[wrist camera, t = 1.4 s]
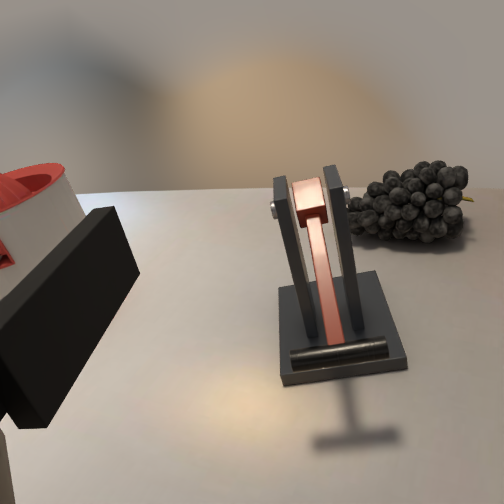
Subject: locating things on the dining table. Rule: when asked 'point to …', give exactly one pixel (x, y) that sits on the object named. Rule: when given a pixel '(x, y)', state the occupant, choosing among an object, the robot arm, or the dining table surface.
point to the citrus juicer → (33, 219)
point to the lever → (327, 293)
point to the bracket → (346, 289)
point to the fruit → (412, 204)
